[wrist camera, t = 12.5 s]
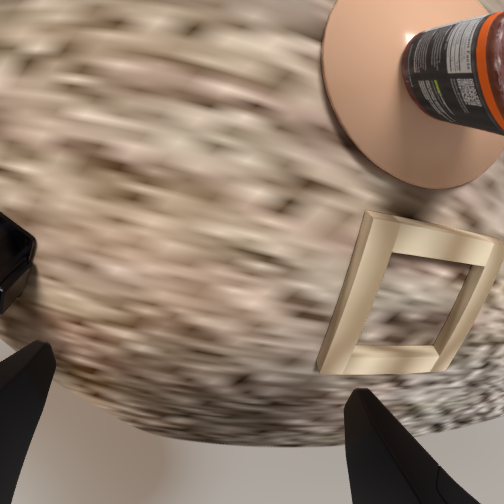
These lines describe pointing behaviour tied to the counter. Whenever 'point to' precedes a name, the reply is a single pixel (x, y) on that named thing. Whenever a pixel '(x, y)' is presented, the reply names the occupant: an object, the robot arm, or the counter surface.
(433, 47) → the supplement bottle
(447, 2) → the terracotta pad
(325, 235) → the counter surface
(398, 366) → the birch collar
